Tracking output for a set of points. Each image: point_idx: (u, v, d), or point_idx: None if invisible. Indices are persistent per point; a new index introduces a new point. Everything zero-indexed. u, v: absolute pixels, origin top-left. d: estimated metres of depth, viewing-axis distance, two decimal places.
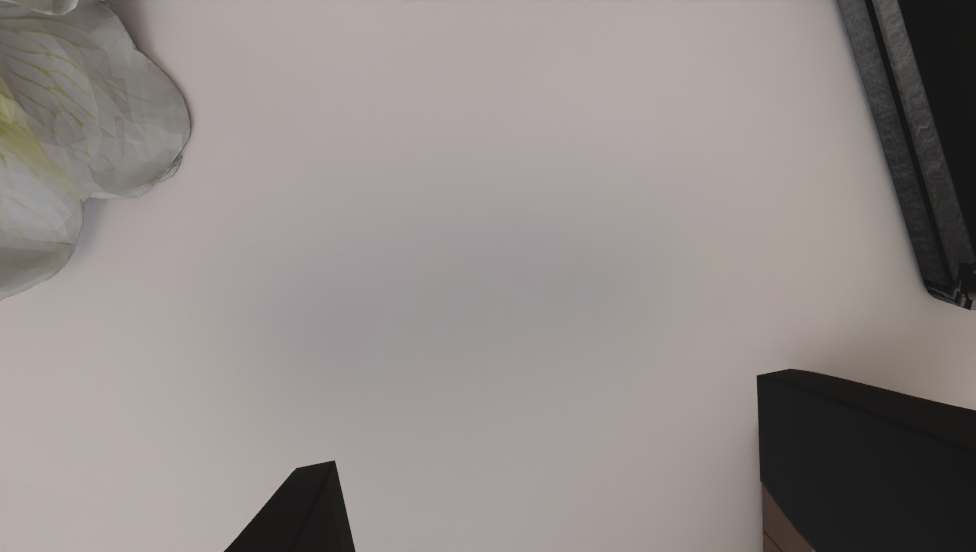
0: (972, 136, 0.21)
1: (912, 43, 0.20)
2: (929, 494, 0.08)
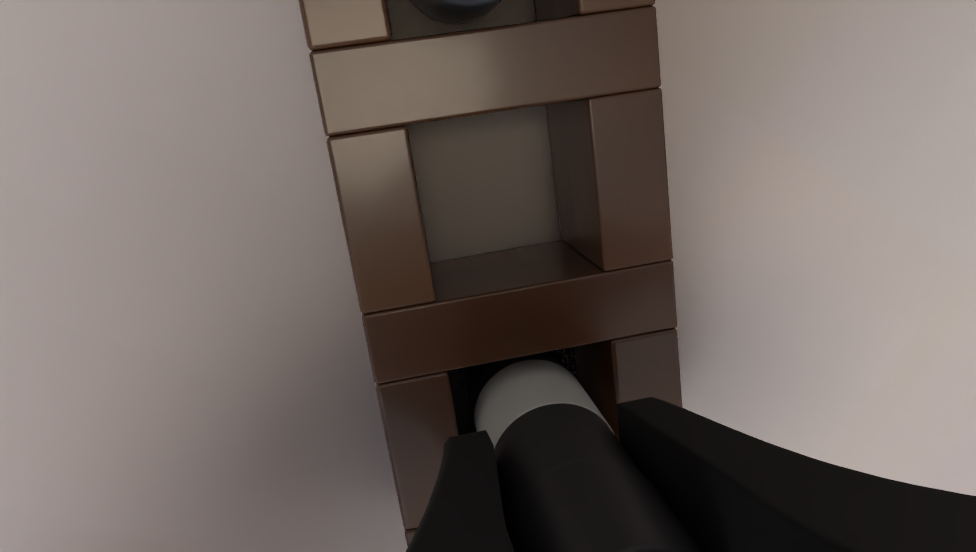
0: None
1: None
2: (734, 539, 0.08)
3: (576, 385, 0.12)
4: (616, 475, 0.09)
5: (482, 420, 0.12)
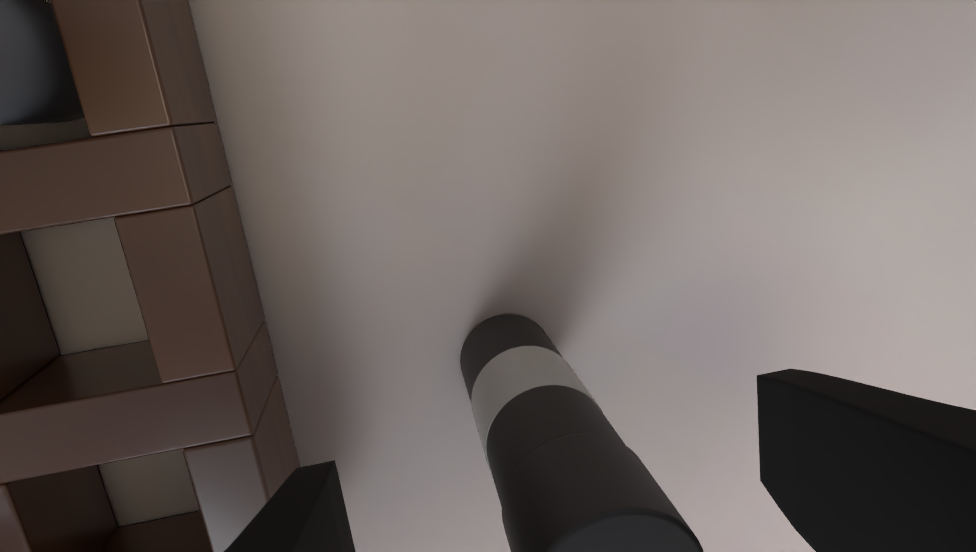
0: None
1: None
2: (929, 493, 0.08)
3: (568, 369, 0.13)
4: (603, 448, 0.09)
5: (478, 403, 0.13)
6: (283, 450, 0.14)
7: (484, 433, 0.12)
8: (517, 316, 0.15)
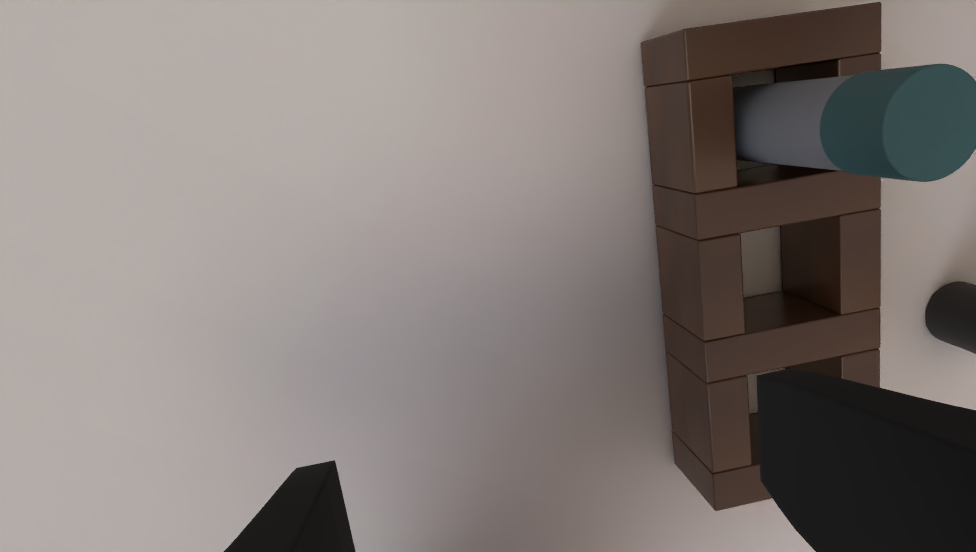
0: None
1: None
2: (928, 493, 0.08)
3: None
4: None
5: None
6: None
7: None
8: (967, 283, 0.23)
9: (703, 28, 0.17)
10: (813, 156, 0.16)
